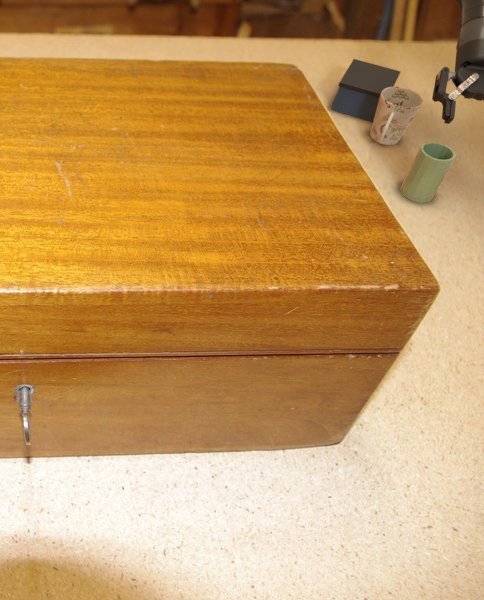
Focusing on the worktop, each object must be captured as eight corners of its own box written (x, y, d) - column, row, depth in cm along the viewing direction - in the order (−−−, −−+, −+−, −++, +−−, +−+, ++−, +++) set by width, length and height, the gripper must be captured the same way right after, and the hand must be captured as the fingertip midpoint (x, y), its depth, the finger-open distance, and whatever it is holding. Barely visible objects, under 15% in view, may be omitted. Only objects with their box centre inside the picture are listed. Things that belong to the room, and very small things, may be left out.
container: (388, 98, 165) (400, 71, 160) (376, 123, 158) (388, 96, 152) (343, 85, 169) (353, 58, 164) (329, 109, 161) (339, 82, 156)
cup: (435, 189, 142) (458, 148, 134) (429, 206, 138) (452, 164, 131) (403, 179, 144) (424, 138, 136) (397, 195, 140) (418, 154, 133)
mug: (407, 134, 155) (426, 93, 148) (395, 162, 148) (415, 121, 140) (369, 122, 158) (386, 82, 151) (355, 150, 150) (372, 109, 143)
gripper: (450, 30, 129) (443, 108, 125) (531, 43, 127) (527, 122, 124) (430, 55, 136) (423, 129, 132) (507, 67, 135) (501, 142, 131)
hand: (473, 125), depth 128 cm, fingers open, 8 cm apart
